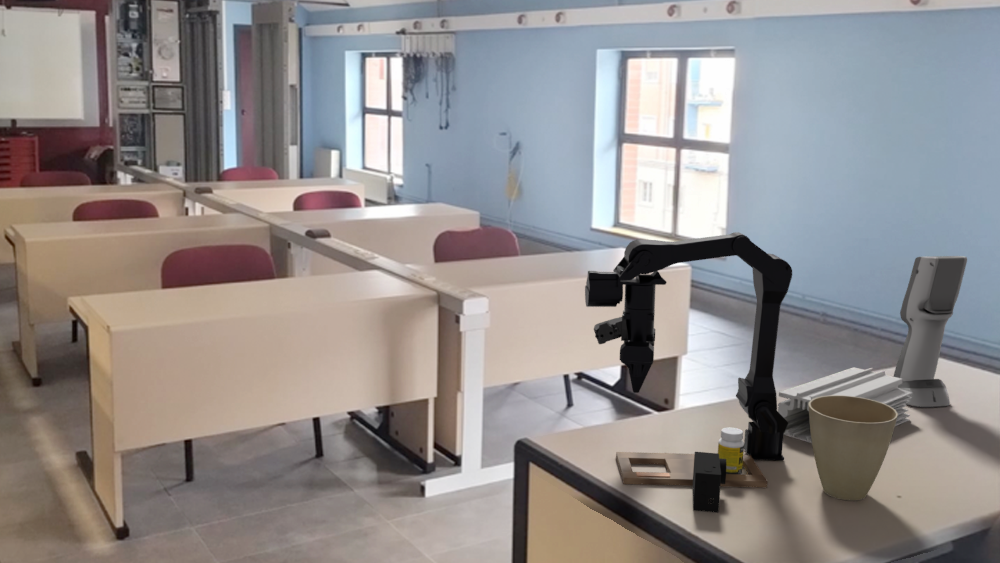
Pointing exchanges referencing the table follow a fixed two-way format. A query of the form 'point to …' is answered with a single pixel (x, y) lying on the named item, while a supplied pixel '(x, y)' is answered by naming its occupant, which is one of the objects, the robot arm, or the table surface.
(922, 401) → the thermal camera
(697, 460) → the digital camera
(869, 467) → the plant pot
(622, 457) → the jack panel
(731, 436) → the supplement bottle
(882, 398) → the aluminum extrusion profile
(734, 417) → the table surface
